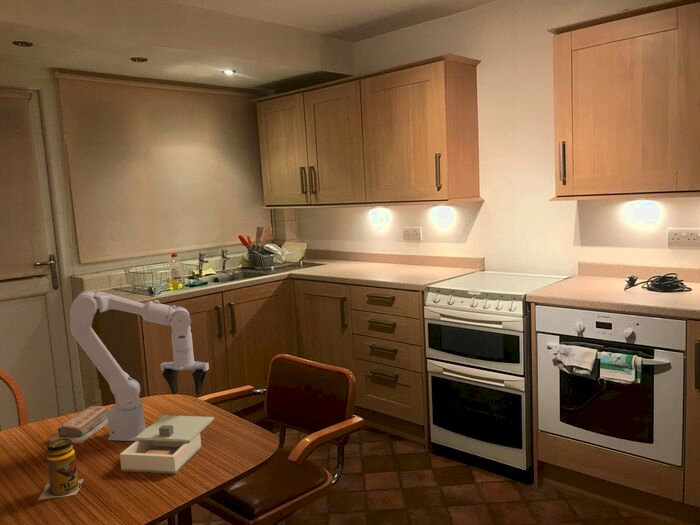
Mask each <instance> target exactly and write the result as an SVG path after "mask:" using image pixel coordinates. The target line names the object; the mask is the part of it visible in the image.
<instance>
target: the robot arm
mask: <svg viewBox="0 0 700 525" xmlns="http://www.w3.org/2000/svg"><path fill="white" fill-rule="evenodd" d="M70 306H71V307H70V309H69V316H70V318H69V319H70V320H69V323H70V325H69V326H70V327H69V328H70V333H71V335H72V336H73V338H74V339H75V340H76V342H77V343H78V344H79V345H80V347H81V348H82V349H83V352H84V353H85V354H86V355H87V356H88V358H89V359H90V360H91V362H92V363H93V364H94V366H95V367H96V368H97V370H98V371H99V373H101V375H102V377H103V378H104V379H105V381H106V382H107V383H108V385H109V388H110V392H111V393H112V394H113V396H114V399H115V404H114V405H112V406H110V408H109V409H108V411H109V412H108V423H107V427H108V435H109V437H108V438H107V440H109V441H124V442H125V441H127V442H128V441H129V442H136V441H137V440H136V439H135V437H137V436H138V435H139V434H140V433H142V432H143V431H144V430H146V429H147V428H148V427H146V422H145V421H146V420H145V413H144V412H145V411H144V410H145V409H144V404H143V403H144V402H143V400H141V399H140V392H141V385H140V383H139V382H138V381H137V380H136V379H134V378H132V377H130V375H129V374H128V373H127V372H125V370H123V368H122V367H121V365H120V364H119V363H118V362H117V360H116V359H115V358H114V356H113V355H112V354H111V352H110V351H109V349H107V346H106V345H105V344H104V343H103V341H102V340H101V338H100V337H99V335H98V334H96V332H95V330H94V329H93V328H92V323H93V320H94V316H95V315H96V314H97V310H99V313H100V314H101V313H104V312H106V311H110V310H115V311H116V310H117V311H120V312H126V313H130V314H136V315H140V316H141V317H142V318H143V320H144V321H146V322H149V323H154V324H158V325H162V326H170V327H171V337H170V338H171V346H172V357H173V361H164V362H162V363H160V371H163V372H162V373H161V374H162V376H163V378H164V379H165V380H166V382H167V384H168V386H169V389H170V391H171V394H172V395H176V394H177V393H179V383H178V374H179V373H178V372H179V371H194V372H192V373H191V376H192V378H193V382H194V388H195V394H196V396H200V395H201V394H203V393H202V392H203V391H202V390H203V384H204V381H205V378H206V376H207V373H208V370H209V369H210V365H209V362H203V361H202V362H201V361H196V360H195V357H194V346H193V335H192V334H193V333H192V332H191V330H192V329H191V327H192V326H191V324H192V319H191V316H190V312H189V311H188V310H187V309H186V308H185V307H183V306H176V305H174V304H172V305H168V304H164V303H160V300H157V299H154V301H152V300H149V301H147V302H145V303H143V302H139V301H135V300H132V299H129V298H124V297H123V296H118V295H116V294H112V293H108V292H103V291H95V290H92V289H86V290H82V291H81V292H80V293H79V294H78V295H77V297H76V298H75V299H74V300H73V302H72V304H71V305H70Z"/></svg>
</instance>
